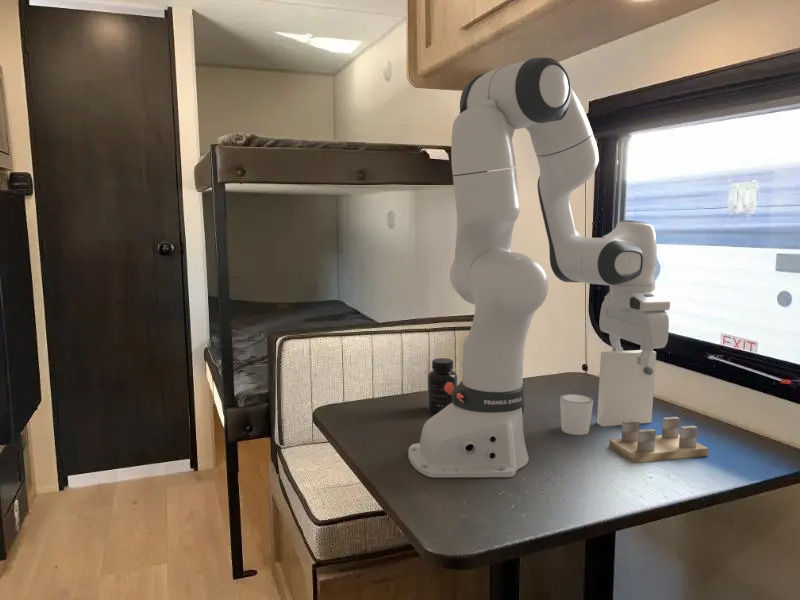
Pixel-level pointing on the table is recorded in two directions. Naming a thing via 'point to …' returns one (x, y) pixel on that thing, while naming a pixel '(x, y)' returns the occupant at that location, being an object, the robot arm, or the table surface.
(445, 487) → the table surface
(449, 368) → the supplement bottle
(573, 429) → the white cup
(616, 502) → the table surface
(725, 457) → the table surface
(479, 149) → the robot arm
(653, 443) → the peg board base
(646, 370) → the rectangular slab
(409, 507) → the table surface
